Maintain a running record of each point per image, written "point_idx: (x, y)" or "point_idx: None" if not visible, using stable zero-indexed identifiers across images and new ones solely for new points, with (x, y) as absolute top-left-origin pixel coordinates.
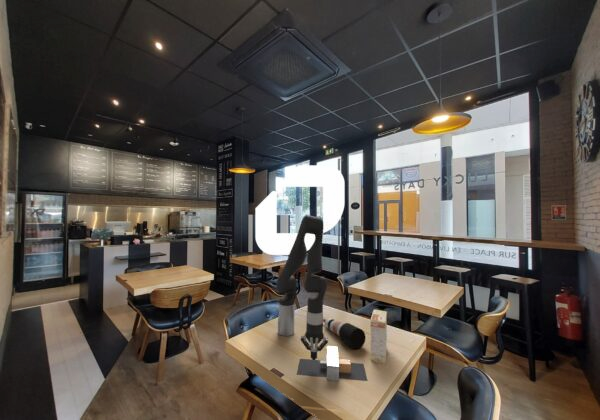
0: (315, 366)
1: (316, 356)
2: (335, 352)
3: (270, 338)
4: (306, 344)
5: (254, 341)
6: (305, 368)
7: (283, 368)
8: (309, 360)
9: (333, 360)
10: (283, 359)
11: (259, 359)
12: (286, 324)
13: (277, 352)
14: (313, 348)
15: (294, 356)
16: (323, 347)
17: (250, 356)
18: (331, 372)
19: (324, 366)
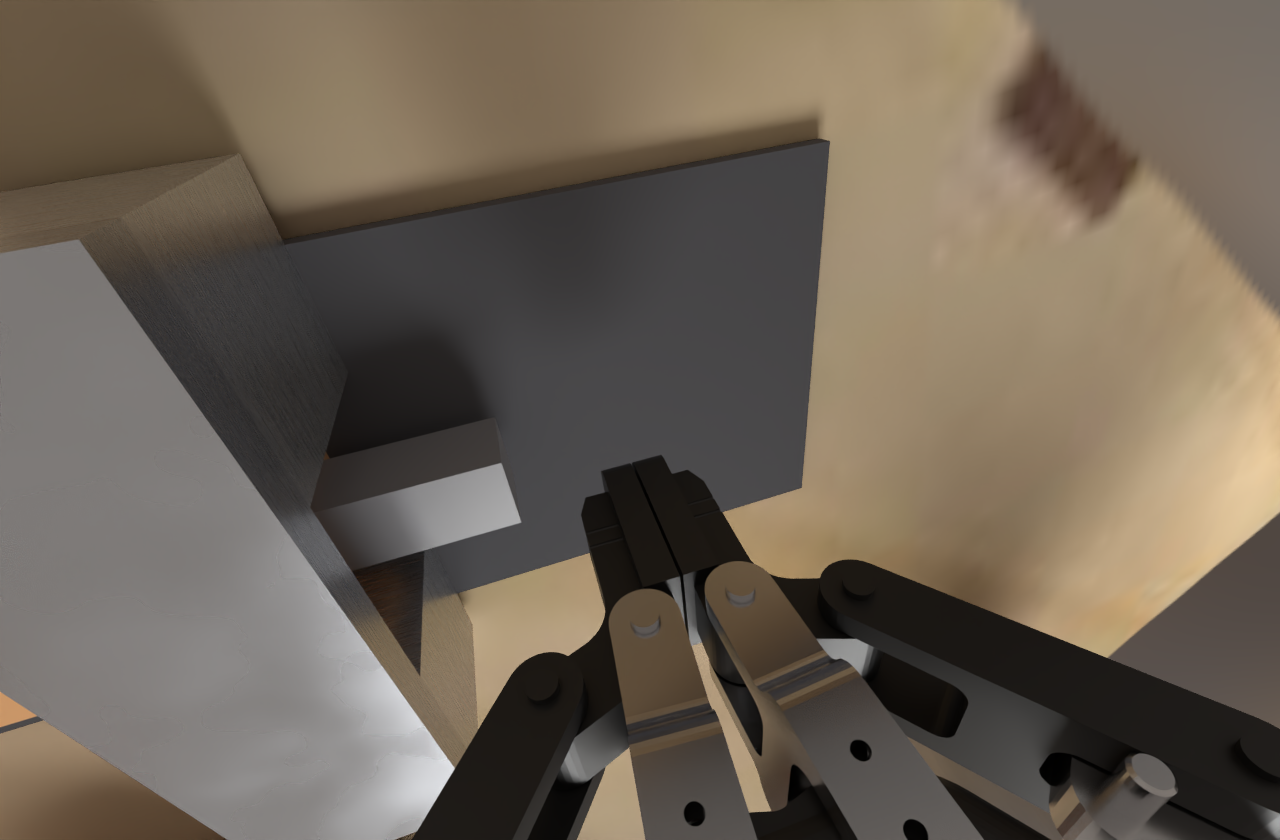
0: (577, 434)
1: (594, 528)
2: (226, 779)
3: (1046, 607)
4: (982, 671)
5: (1176, 523)
6: (711, 338)
7: (988, 248)
8: None
9: (53, 560)
10: (970, 409)
11: (1210, 310)
12: (1006, 794)
13: (1016, 482)
14: (717, 655)
15: (853, 501)
16: (428, 817)
17: (1277, 322)
18: (27, 215)
19: (414, 449)
